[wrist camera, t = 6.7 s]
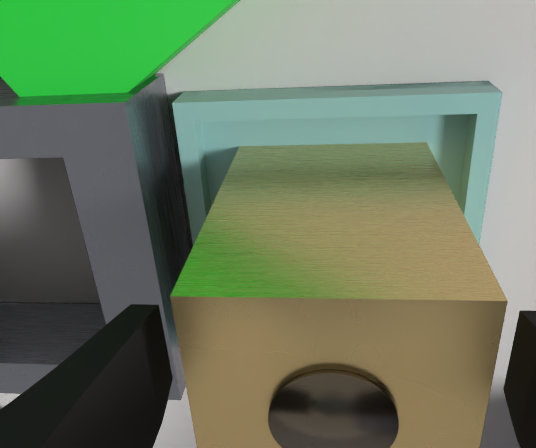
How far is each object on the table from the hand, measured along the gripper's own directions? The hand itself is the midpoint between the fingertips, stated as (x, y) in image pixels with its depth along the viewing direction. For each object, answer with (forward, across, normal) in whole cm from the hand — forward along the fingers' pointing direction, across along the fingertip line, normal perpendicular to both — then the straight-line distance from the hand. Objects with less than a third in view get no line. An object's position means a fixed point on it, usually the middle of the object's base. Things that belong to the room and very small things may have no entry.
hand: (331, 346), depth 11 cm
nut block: (+5, 0, 0) cm, 5 cm away
